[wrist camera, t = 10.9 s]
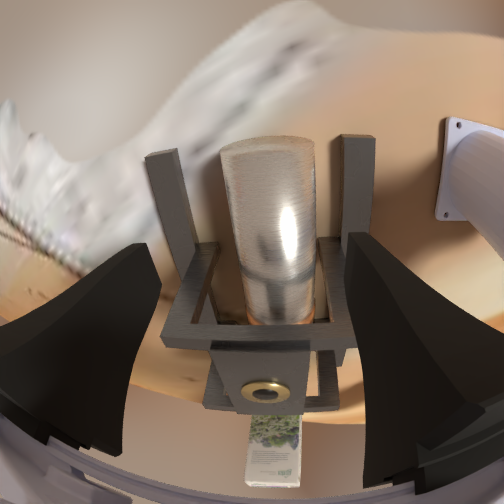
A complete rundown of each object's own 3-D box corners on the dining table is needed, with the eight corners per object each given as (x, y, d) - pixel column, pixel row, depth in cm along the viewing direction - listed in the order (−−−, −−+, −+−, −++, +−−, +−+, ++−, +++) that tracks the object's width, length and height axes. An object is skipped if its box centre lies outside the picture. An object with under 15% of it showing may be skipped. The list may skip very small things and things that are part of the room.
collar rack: (370, 135, 15) (453, 196, 7) (340, 359, 28) (347, 436, 20) (150, 153, 17) (59, 222, 9) (216, 360, 30) (202, 434, 22)
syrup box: (261, 393, 35) (252, 487, 23) (254, 374, 31) (242, 483, 20) (302, 392, 34) (300, 488, 22) (300, 373, 30) (298, 485, 19)
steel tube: (215, 143, 15) (220, 163, 11) (297, 132, 16) (332, 149, 12) (253, 348, 27) (262, 391, 22) (302, 337, 27) (317, 377, 23)
